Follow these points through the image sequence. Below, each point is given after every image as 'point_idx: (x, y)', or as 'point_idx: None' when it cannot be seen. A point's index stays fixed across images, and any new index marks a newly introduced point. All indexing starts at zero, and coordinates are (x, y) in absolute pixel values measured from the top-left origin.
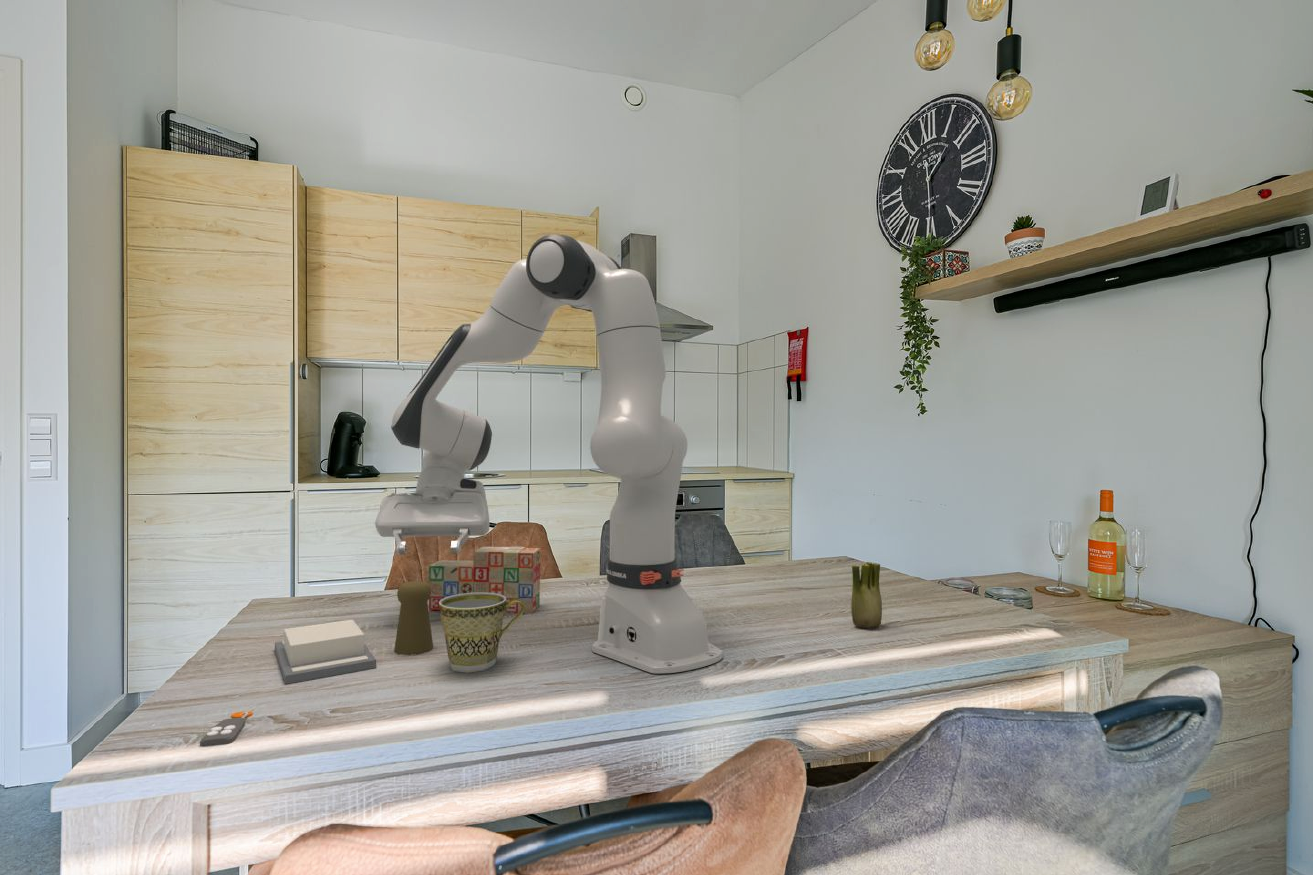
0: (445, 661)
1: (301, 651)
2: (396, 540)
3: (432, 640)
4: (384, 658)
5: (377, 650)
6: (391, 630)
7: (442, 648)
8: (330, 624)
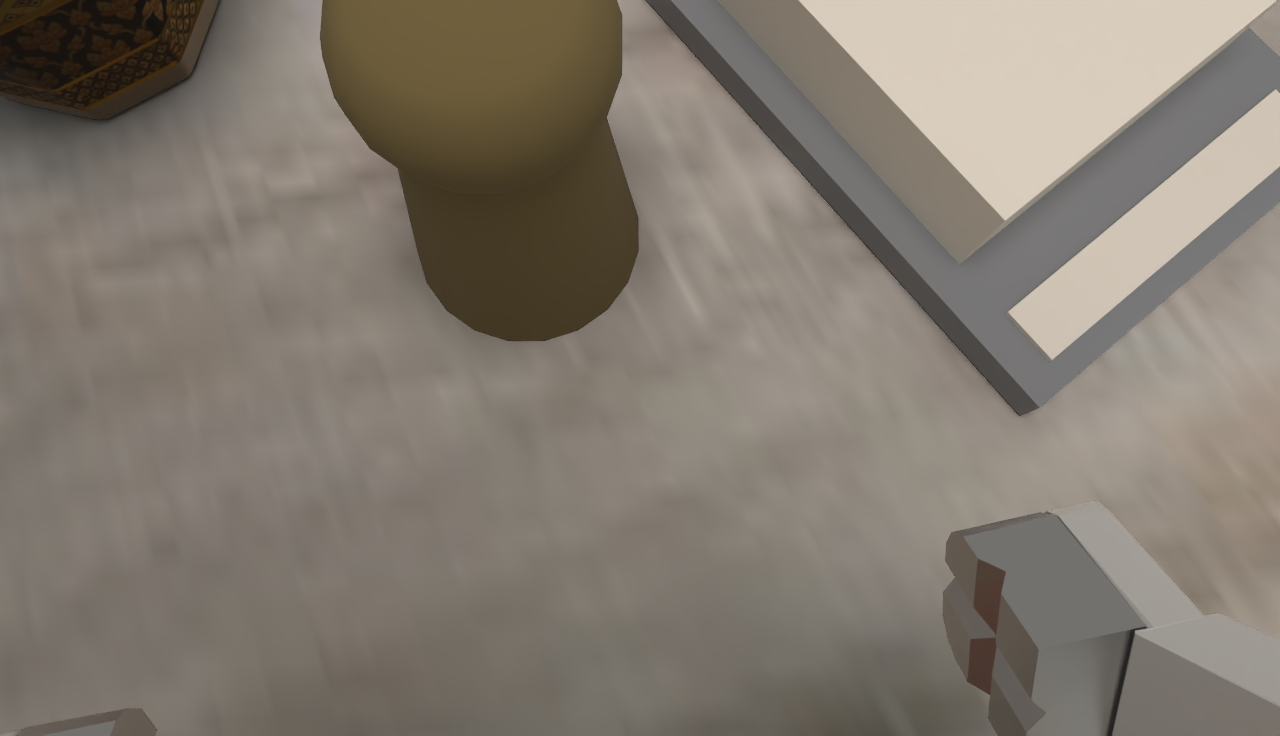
0: (267, 56)
1: None
2: (1255, 633)
3: (423, 267)
4: (623, 74)
5: (732, 193)
6: (864, 598)
7: (359, 259)
8: (1076, 94)
